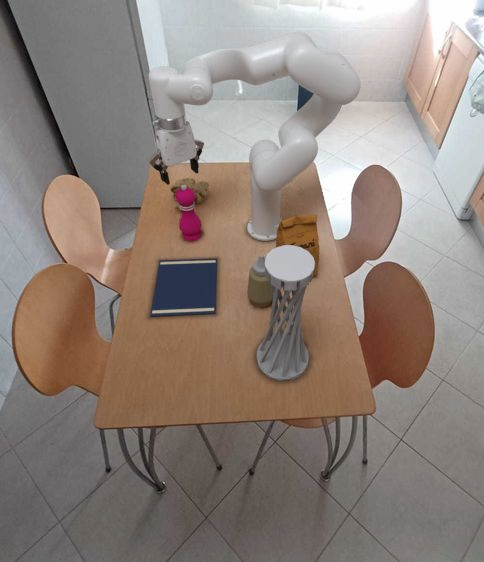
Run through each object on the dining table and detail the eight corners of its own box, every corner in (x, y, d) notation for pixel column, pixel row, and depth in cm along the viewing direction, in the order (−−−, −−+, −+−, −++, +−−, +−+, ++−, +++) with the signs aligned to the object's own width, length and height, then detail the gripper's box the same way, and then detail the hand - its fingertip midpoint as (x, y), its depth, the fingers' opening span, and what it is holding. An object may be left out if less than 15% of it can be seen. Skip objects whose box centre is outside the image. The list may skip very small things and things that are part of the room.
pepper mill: (201, 242, 130) (193, 192, 115) (179, 242, 129) (168, 191, 115) (204, 228, 134) (197, 178, 120) (183, 228, 134) (173, 177, 119)
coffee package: (319, 281, 120) (328, 225, 103) (280, 287, 117) (283, 231, 101) (310, 258, 126) (317, 203, 110) (272, 264, 124) (274, 208, 107)
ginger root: (196, 177, 152) (195, 162, 145) (216, 205, 147) (216, 191, 140) (159, 191, 147) (156, 176, 140) (178, 221, 141) (176, 207, 134)
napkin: (217, 259, 125) (217, 258, 124) (215, 314, 110) (215, 313, 110) (159, 261, 123) (159, 260, 123) (150, 317, 109) (150, 316, 108)
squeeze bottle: (279, 293, 116) (281, 249, 102) (269, 314, 111) (271, 270, 97) (253, 286, 117) (252, 242, 104) (243, 306, 112) (241, 262, 99)
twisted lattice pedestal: (306, 335, 106) (321, 239, 80) (310, 380, 97) (328, 288, 71) (256, 335, 106) (255, 238, 80) (256, 381, 97) (254, 288, 71)
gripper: (148, 135, 96) (161, 193, 109) (207, 116, 104) (212, 172, 117) (134, 123, 100) (147, 181, 113) (192, 106, 108) (198, 161, 121)
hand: (180, 176), depth 115 cm, fingers open, 9 cm apart
